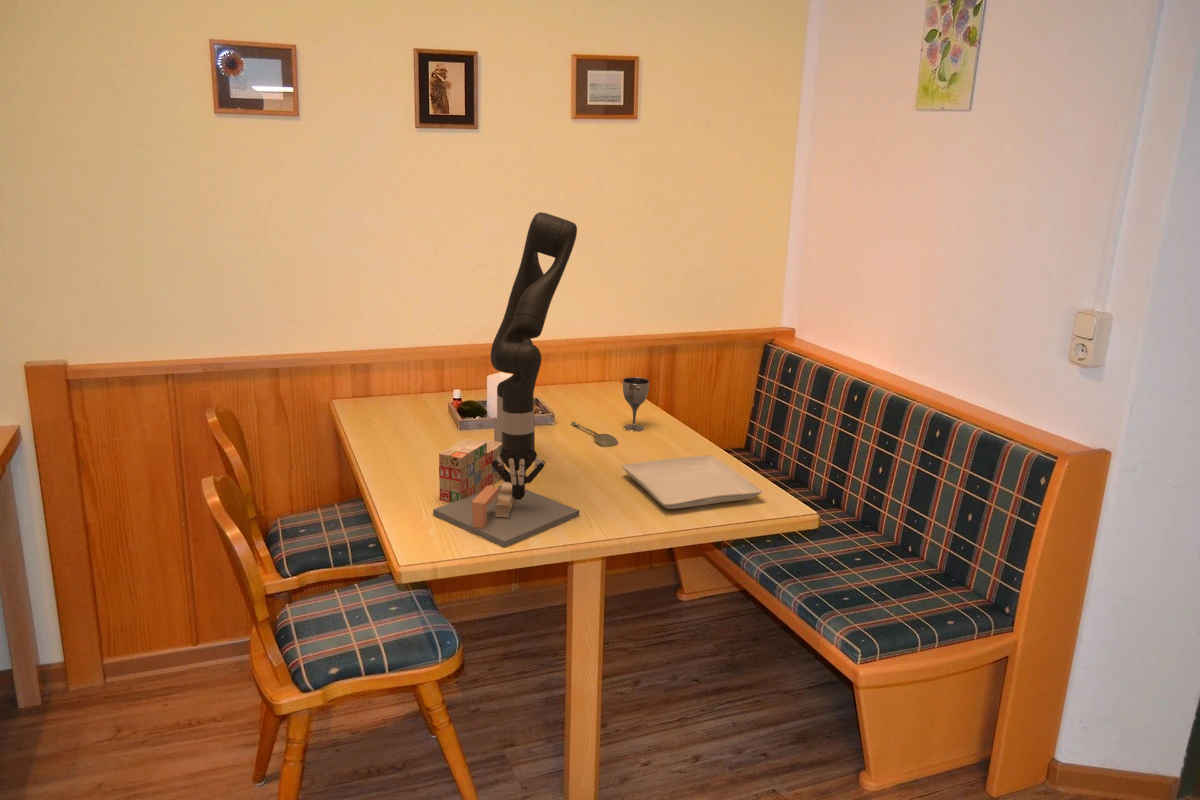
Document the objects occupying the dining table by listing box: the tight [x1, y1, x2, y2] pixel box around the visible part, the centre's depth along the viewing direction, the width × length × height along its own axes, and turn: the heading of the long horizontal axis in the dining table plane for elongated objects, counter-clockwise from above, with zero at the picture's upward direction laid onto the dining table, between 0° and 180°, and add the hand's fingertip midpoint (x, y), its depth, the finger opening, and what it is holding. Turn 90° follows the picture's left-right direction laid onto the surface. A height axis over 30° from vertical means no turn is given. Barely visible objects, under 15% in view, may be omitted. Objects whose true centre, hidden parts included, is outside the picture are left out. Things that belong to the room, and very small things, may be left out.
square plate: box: [621, 455, 763, 510], centre depth 236 cm, size 27×27×4 cm
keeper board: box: [432, 484, 580, 548], centre depth 215 cm, size 24×24×8 cm
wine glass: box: [622, 376, 650, 432], centre depth 280 cm, size 8×8×15 cm
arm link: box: [495, 471, 519, 517], centre depth 219 cm, size 19×4×4 cm, turn 178°
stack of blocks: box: [438, 438, 505, 503], centre depth 230 cm, size 21×6×12 cm, turn 157°
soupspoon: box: [570, 421, 619, 448], centre depth 273 cm, size 22×3×7 cm
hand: (518, 498), depth 216 cm, fingers closed
